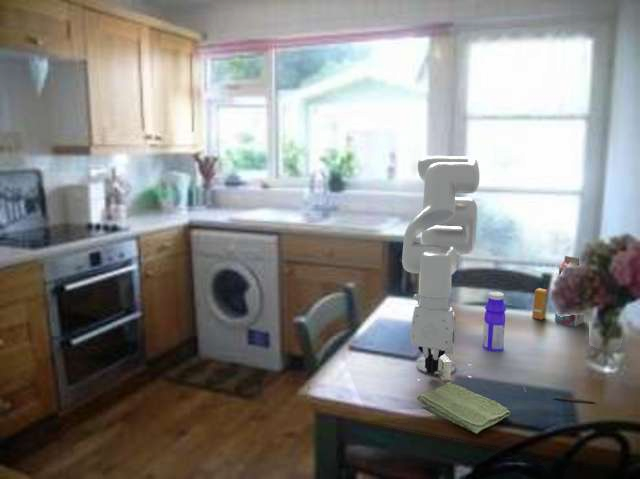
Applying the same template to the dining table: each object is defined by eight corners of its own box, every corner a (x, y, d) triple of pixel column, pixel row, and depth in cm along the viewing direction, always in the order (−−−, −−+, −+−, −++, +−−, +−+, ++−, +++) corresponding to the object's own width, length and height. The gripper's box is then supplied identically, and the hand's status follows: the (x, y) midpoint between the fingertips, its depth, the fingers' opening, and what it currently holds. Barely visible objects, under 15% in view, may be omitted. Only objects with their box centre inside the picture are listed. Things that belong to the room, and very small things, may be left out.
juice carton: (574, 326, 174) (581, 260, 170) (554, 321, 179) (560, 257, 175) (583, 322, 178) (590, 257, 174) (563, 317, 183) (569, 254, 179)
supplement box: (542, 320, 180) (544, 291, 178) (531, 317, 182) (534, 289, 180) (545, 317, 183) (548, 289, 181) (535, 315, 185) (537, 287, 183)
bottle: (504, 357, 151) (508, 297, 147) (483, 355, 152) (487, 296, 148) (501, 347, 158) (505, 290, 154) (481, 345, 159) (484, 289, 155)
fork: (597, 407, 124) (598, 399, 123) (523, 398, 128) (524, 391, 127) (594, 402, 126) (595, 394, 126) (522, 393, 130) (523, 386, 130)
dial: (411, 360, 145) (412, 342, 144) (446, 358, 147) (447, 340, 146) (427, 381, 133) (427, 362, 132) (465, 379, 134) (466, 360, 133)
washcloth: (478, 439, 111) (479, 425, 110) (413, 406, 125) (413, 393, 124) (513, 418, 119) (514, 405, 119) (448, 389, 133) (449, 377, 132)
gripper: (399, 301, 131) (397, 371, 135) (460, 310, 124) (457, 384, 128) (410, 293, 138) (408, 360, 141) (468, 302, 131) (465, 372, 134)
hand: (431, 371), depth 134 cm, fingers closed
